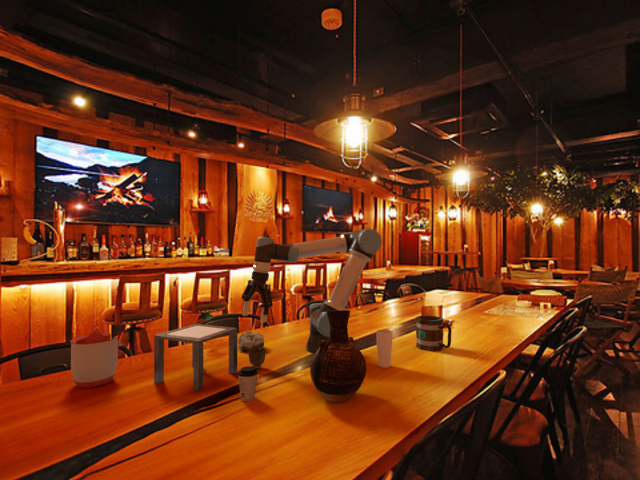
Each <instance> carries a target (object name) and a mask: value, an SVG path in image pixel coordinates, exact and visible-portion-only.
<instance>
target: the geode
mask: <svg viewBox="0 0 640 480" xmlns="http://www.w3.org/2000/svg"><path fill="white" fill-rule="evenodd" d="M264 337H265V336H264V335H263V334H261V333H260V332H255V333H254V332H252V330H251V331H246V332H243V333H241V334H240V335H239V338H238V341H237V344H238V345H237V349H238V350H240V351H246V352H248V350H249V349H250V348H251V349H252V348H255V347H257V348H258V347H259V349H262V348H264V347H265V340H264V339H265V338H264Z"/></svg>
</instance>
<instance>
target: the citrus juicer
mask: <svg viewBox="0 0 640 480" xmlns="http://www.w3.org/2000/svg"><path fill="white" fill-rule="evenodd" d="M111 337H112V335H111V333H110V332H108V333H105V332H103V333H102V332H100V331H99V330H97V329H94V330H93V331H92V332H91V333H90V334H86V335H81V336H77V337H74V338H72V339H71V340H70V369H71V370H70V371H71V375H72V379H73V382H74V383H75V385H76V387H78V388H87V389H91V388H95V387H98V386H102V385H105V384H107V383H110V382H111V381H112V380H113V378H114V376H115V373H116V370H117V367H118V366H117V365H118V360H119V359H118V358H119V357H118V355H119V347H122V346H123V343H121V342H119V338H120V336H119V334H118V335H116V336H114V337H113V338H111Z"/></svg>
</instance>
